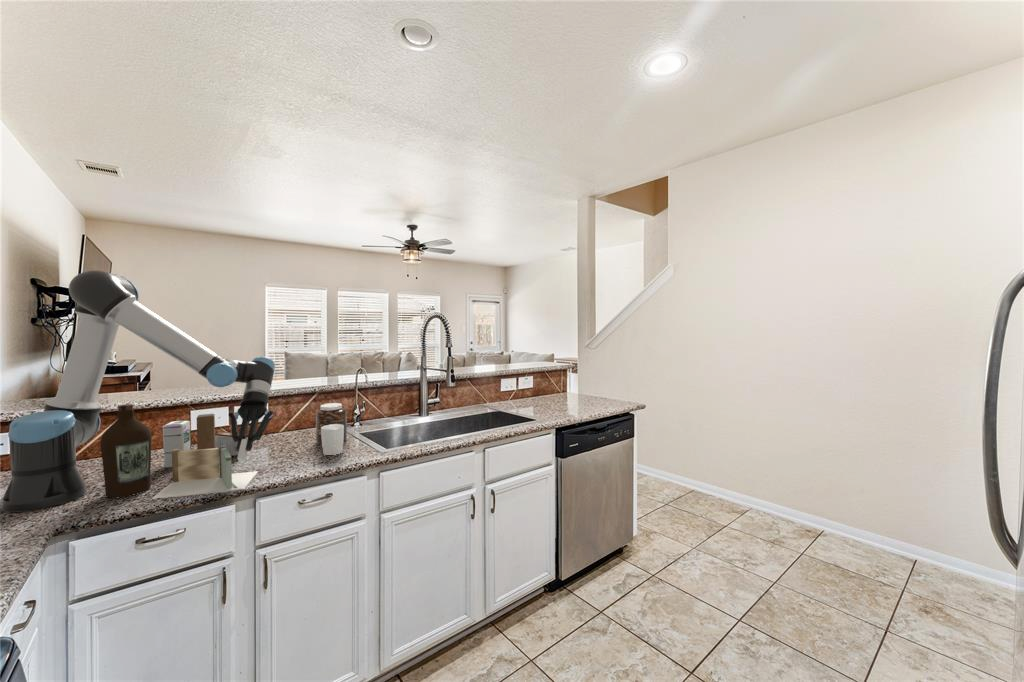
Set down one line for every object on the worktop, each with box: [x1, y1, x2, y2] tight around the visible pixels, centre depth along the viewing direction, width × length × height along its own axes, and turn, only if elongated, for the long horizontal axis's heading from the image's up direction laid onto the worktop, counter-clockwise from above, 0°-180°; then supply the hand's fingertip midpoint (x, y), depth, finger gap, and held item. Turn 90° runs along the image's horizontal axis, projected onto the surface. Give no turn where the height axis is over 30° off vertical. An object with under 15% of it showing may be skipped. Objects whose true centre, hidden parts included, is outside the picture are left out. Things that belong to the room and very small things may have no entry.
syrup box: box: [162, 420, 192, 468], centre depth 140 cm, size 6×6×14 cm
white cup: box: [321, 424, 344, 456], centre depth 152 cm, size 8×8×10 cm
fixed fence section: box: [171, 445, 226, 482], centre depth 126 cm, size 14×2×10 cm, turn 108°
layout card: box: [151, 470, 259, 500], centre depth 122 cm, size 22×14×1 cm, turn 108°
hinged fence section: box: [221, 447, 233, 489], centre depth 122 cm, size 12×1×9 cm, turn 42°
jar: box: [315, 402, 348, 446], centre depth 168 cm, size 12×12×15 cm
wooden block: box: [196, 413, 216, 450], centre depth 134 cm, size 9×4×18 cm, turn 123°
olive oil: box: [100, 403, 153, 499], centre depth 117 cm, size 11×11×25 cm
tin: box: [215, 430, 247, 458], centre depth 149 cm, size 15×3×8 cm, turn 76°
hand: (241, 460), depth 125 cm, fingers closed
